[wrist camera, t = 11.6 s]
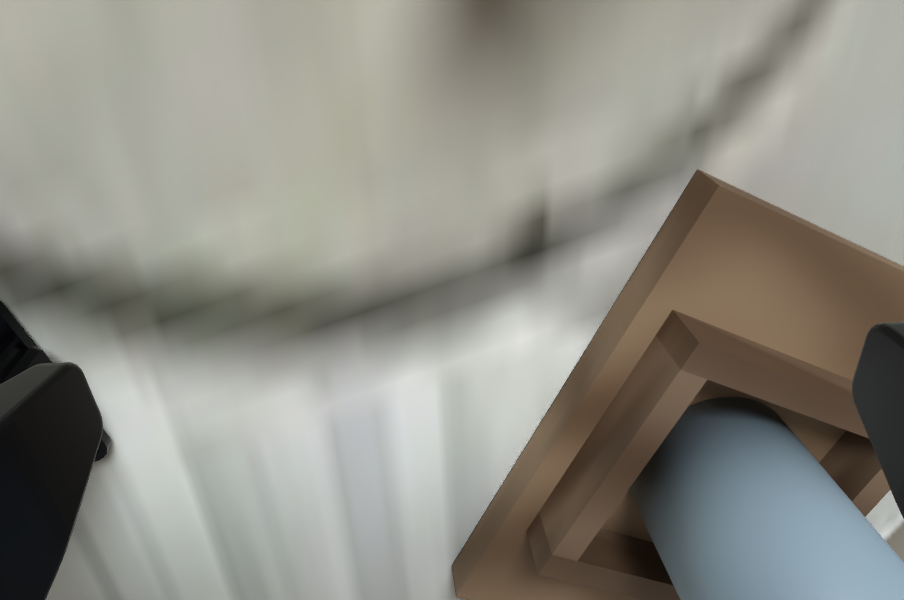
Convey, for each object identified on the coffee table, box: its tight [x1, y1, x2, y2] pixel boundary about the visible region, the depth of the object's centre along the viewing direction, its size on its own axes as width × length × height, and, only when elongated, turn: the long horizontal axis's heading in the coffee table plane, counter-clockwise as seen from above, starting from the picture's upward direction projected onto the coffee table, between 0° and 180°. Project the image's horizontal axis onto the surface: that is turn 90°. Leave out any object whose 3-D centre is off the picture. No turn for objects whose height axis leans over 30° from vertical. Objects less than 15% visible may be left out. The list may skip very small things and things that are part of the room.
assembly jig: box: [452, 170, 904, 600], centre depth 25 cm, size 18×12×4 cm, turn 155°
